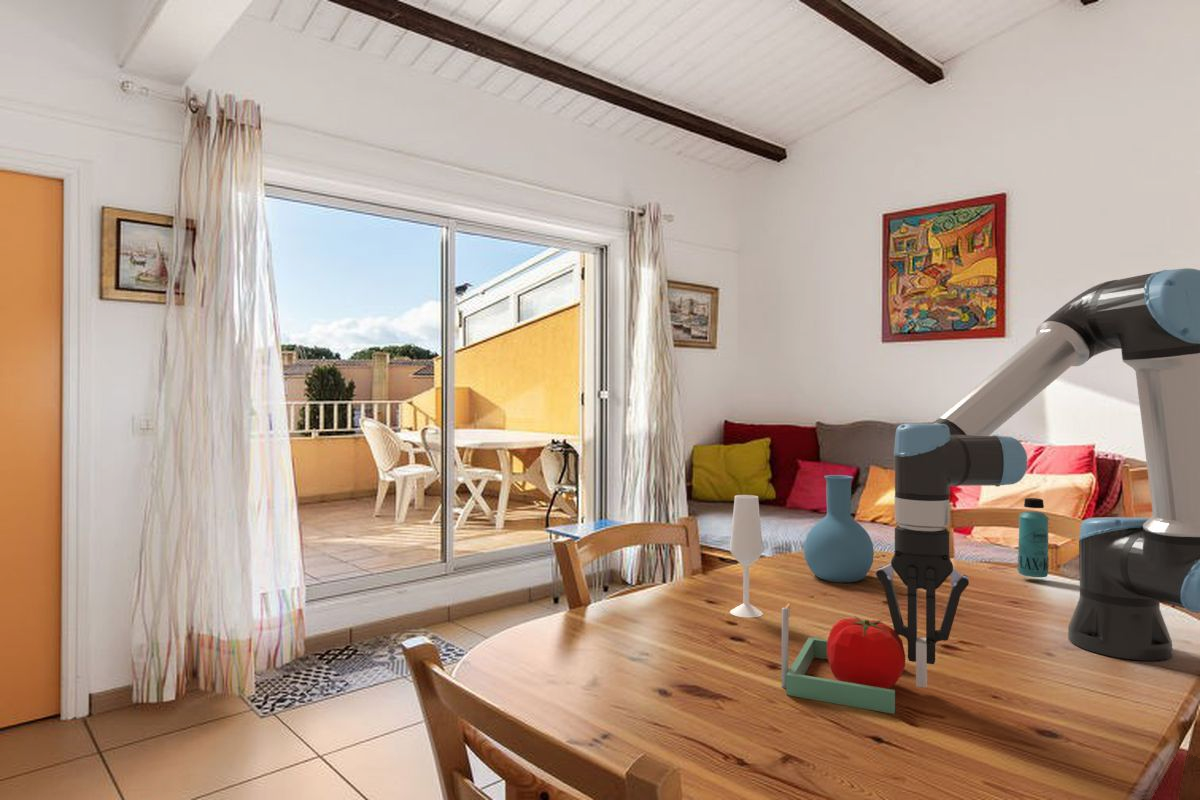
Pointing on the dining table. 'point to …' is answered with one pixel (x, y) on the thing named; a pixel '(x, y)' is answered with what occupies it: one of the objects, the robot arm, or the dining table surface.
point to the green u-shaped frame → (823, 687)
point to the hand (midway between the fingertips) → (921, 683)
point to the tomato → (865, 653)
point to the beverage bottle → (1033, 541)
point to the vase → (838, 538)
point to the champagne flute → (746, 545)
